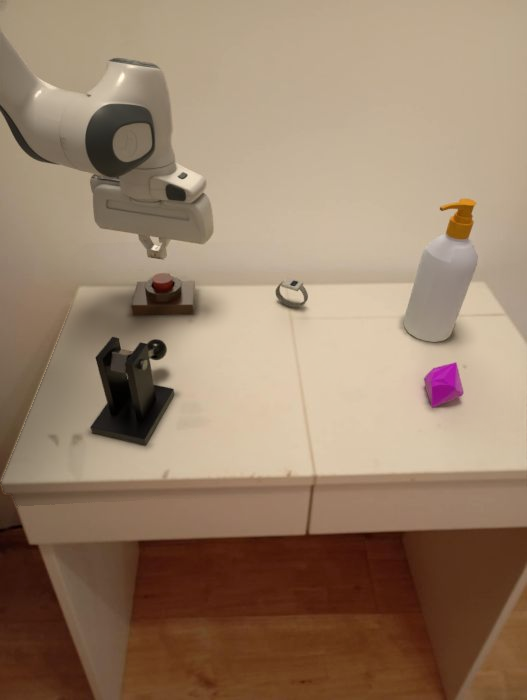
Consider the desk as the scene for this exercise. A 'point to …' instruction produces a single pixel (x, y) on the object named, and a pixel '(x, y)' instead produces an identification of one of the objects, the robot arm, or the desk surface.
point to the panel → (164, 299)
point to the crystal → (443, 384)
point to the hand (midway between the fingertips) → (157, 257)
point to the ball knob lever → (120, 357)
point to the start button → (162, 282)
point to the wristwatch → (293, 286)
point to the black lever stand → (130, 396)
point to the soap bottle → (443, 278)
